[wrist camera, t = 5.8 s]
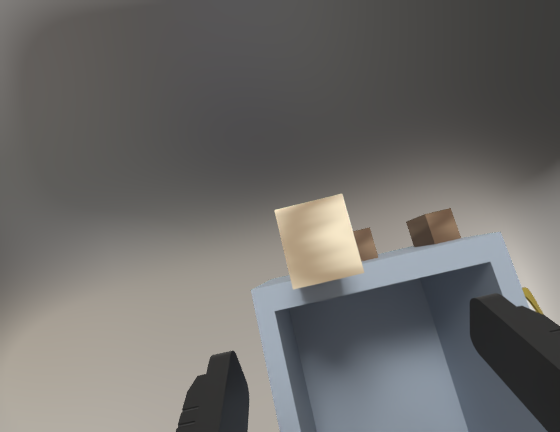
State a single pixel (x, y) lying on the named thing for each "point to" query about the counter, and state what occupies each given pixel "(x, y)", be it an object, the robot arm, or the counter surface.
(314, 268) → the birch bar
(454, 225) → the walnut crosspiece
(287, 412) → the shelf
